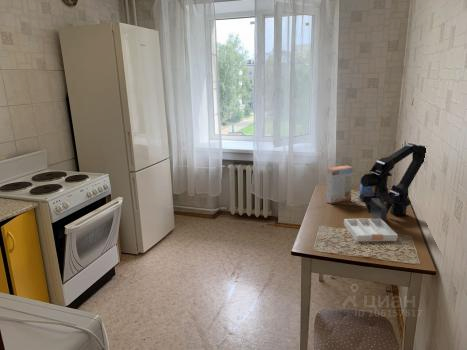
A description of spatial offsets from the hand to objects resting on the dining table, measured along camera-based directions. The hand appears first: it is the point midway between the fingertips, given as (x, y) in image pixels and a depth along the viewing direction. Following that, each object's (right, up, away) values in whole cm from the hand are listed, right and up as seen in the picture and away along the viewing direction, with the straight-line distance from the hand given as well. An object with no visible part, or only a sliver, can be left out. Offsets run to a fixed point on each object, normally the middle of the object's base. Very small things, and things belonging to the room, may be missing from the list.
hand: (377, 212), depth 178 cm
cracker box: (-13, +4, +26) cm, 29 cm away
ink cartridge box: (+5, +5, +26) cm, 27 cm away
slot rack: (-11, -7, -16) cm, 20 cm away
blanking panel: (0, -3, +1) cm, 3 cm away
